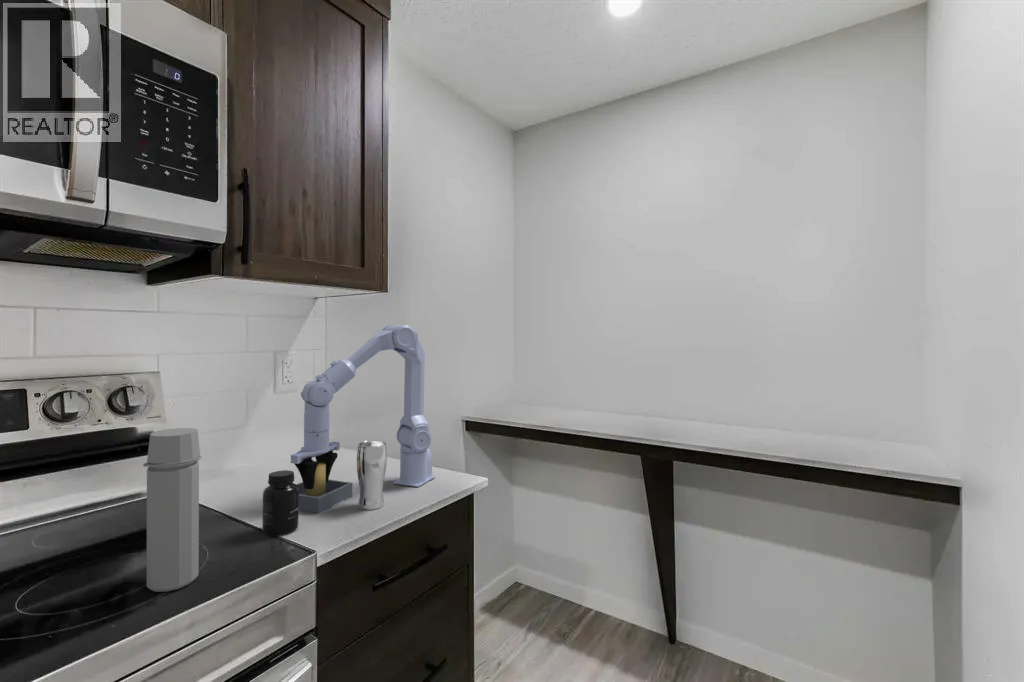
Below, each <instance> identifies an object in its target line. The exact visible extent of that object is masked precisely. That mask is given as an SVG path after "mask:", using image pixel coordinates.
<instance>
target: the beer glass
mask: <svg viewBox="0 0 1024 682" xmlns="http://www.w3.org/2000/svg"><path fill="white" fill-rule="evenodd" d="M387 457H388V456H387V443H386V441H384V440H374V439H373V440H364V441H360V442H358V443H357V450H356V473H357V479H358V484H359V497H358V502H357V504H358V505H357V507H358V509H360V508H361V509H360V510H363V509H365V510H364V511H372V510H373V509H374V510H378V509H381V508H383V507H384V506H385V499H384V491H383V490H384V481H385V476H386V472H387V471H386V470H387V464H388V462H387V461H388V458H387Z"/></svg>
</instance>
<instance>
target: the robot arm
mask: <svg viewBox="0 0 1024 682" xmlns="http://www.w3.org/2000/svg"><path fill="white" fill-rule="evenodd" d="M387 350H393V351H395V352H396V353H397V354H399V355H400V356H401V357H402V358H403V359H404V385H403V386H404V388H403V389H404V390H403V391H404V393H403V402H404V403H403V416H402V417H401V419H400V420H399V427H398V430H397V431H396V441H397V442H398V443H399V444H400V451H399V453H400V455H399V456H400V457H399V459H400V460H399V464H400V465H399V467H400V468H399V479H397V480H394V481H393V484H394V485H401V486H407V487H413V488H419V487H421V486H423V485H425V484H426V483H428V482H429V481H431V480H432V479H435V477H436V476H435V475H433V454H432V453H433V452H431V449H430V448H429V447H430V445H431V443H432V434H431V433H430V430H429V422H428V421H427V419H426V417H425V414H424V412H425V411H424V410H425V409H424V408H425V404H424V403H425V366H426V365H425V364H426V363H425V359H426V358H425V357H426V355H425V354H426V353H425V349H424V347H423V346H422V343H421V341H420V338H419V332H417V331H416V330H415V329H414V328H413V327H411V326H410V325H408V324H403V325H402V324H401V325H393V324H389V325H386V326H384V327H383V328H382V329H381V330H379V331H377V332H376V333H375V334H374V335H373V336H372V337H371V338H370V339H369V340H367V341H366V342H365V343H364V344H363V345H362V346H360V347H359V349H357V350H356V351H355V352H353V354H352V355H350V356H349V357H348V358H347V359H338V360H337V361H335V360H333V361H332V362H331V363H330V367H328V368H327V369H326V370H325V371H323V372H322V373H321V374H317V375H316V376H315V377H314V379H316V380H310V381H308V382H307V383H305V385H304V386H303V389H302V390H301V392H300V395H301V396H300V397H301V399H302V400H303V401H304V412H303V446H302V447H300V450H298V451H297V452H295V453H293V454H290V464H294V465H295V467H296V469H297V470H298V473H299V475H300V477H301V481H302V482H303V484H304V488H305V489H310V490H311V489H313V488H314V480H315V472H316V468H317V465H318V463H319V462H320V463H325V464H326V483H327V482H328V479H329V478H330V474H331V471H332V469H333V466H334V463H335V462H336V460H337V458H338V452H334V451H340V448H341V447H340V445H341V444H340V441H331V442H330V403H331V402H332V401H333V399H334V396H335V394H337V392H339V390H341V389H342V388H343V387H344V386H346V384H348V383H349V382H350V381H351V380H353V379H354V378H355V376H356V371H357V369H358V368H360V367H361V366H362V365H364V364H365V363H367V362H368V361H369V360H371V359H372V358H373V357H374V356H375V355H377V354H378V353H379V352H381V351H387ZM313 458H315V460H316V461H315V460H314V459H313ZM329 480H330V479H329Z"/></svg>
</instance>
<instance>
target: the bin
mask: <svg viewBox="0 0 1024 682" xmlns="http://www.w3.org/2000/svg"><path fill="white" fill-rule="evenodd" d="M295 484H296V485H297V486H298V488H299V511H301V510H303V512H308V513H312V512H314V514H318V513H319V514H321V513H323V512H325V511H326V509H327V510H329V509H330V507H331V508H333V507H334V506H333V505H335V504H337V503H339V502H341V501H343V500H345V501H347V500H348V499H347V498H349V499H351V498H352V497H353V482H349V481H340V480H336V479H328V482H327V483H326V493H325V494H323V495H320V496H308V495H306V489H305V488H304V484H303V481H302V482H299V483H295ZM350 497H351V498H350ZM346 499H347V500H346ZM343 502H344V501H343ZM341 503H342V502H341ZM339 504H340V503H339ZM337 505H338V504H337ZM332 506H333V507H332ZM335 506H336V505H335ZM328 508H329V509H328ZM324 510H325V511H324ZM322 511H323V512H322ZM320 512H321V513H320Z"/></svg>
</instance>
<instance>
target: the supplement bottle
mask: <svg viewBox="0 0 1024 682" xmlns="http://www.w3.org/2000/svg"><path fill="white" fill-rule="evenodd" d="M294 482H295V473H294V471H292V470H290V469H289V470H286V469H285V470H276V471H273V472H270V473H269V474H268V480H267V484H268V486H267V487H265V488H264V489H263V492H262V519H261V520H262V523H261V525H262V533H263V534H264V535H266V536H270V537H271V536H272V537H278V536H279V537H280V536H285V535H289V534H291V533H293V532H295V531H296V530H297V529H298V527H299V512H300V510H299V488H298V486H297V485H296V484H297V483H294ZM288 533H289V534H288ZM284 534H285V535H284Z"/></svg>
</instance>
